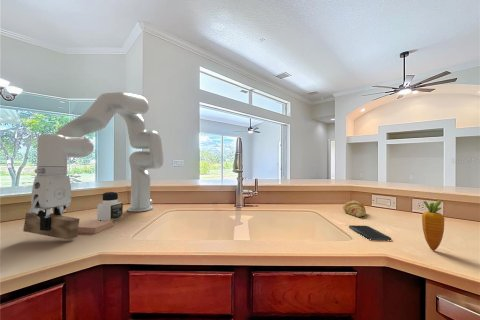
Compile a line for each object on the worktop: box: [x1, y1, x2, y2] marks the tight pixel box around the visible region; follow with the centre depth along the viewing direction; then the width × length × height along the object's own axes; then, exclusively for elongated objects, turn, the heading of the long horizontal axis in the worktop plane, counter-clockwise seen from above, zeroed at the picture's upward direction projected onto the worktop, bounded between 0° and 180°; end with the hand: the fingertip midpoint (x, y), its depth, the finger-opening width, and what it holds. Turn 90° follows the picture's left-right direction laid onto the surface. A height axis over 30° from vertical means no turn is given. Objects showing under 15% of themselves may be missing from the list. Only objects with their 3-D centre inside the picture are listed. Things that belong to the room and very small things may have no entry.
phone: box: [348, 225, 392, 241], centre depth 80 cm, size 8×1×15 cm
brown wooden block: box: [22, 211, 80, 241], centre depth 71 cm, size 16×3×6 cm, turn 85°
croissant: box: [342, 199, 367, 218], centre depth 112 cm, size 21×10×8 cm, turn 168°
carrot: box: [421, 200, 445, 251], centre depth 64 cm, size 5×5×15 cm
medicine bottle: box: [96, 191, 124, 222], centre depth 98 cm, size 7×7×12 cm
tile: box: [77, 220, 114, 235], centre depth 82 cm, size 3×9×8 cm
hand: (50, 227), depth 71 cm, fingers closed on brown wooden block, 3 cm apart
